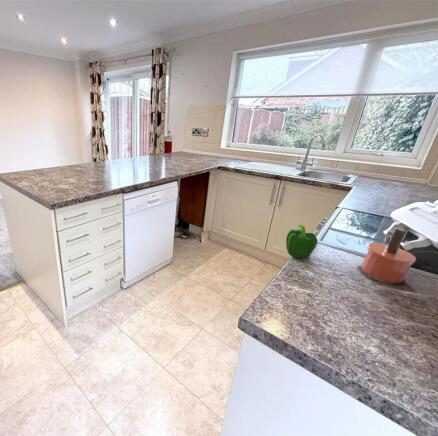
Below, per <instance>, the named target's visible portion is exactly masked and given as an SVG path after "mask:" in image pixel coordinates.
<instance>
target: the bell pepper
mask: <svg viewBox="0 0 438 436" xmlns="http://www.w3.org/2000/svg"><path fill="white" fill-rule="evenodd" d="M285 239H286V240H285V241H286V242H285V245H286V251H287V253H288V255H289V256H290V257H293V258H296V259H302V258H308V257H310V256H311V254H312V253H313V252H314V250H315V249H316V248H317V244H318V238H317V236H316V235H315V233H313V232H306V227H305V226H304V225H303V224H298V229H292V228H291V229H290V230H289V231H288V233H287V235H286V237H285Z"/></svg>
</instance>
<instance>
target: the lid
mask: <svg viewBox="0 0 438 436" xmlns="http://www.w3.org/2000/svg"><path fill="white" fill-rule="evenodd" d="M407 233H408V230H406V229H402V228H395V230H394V232H393V234H392V237H390V239H389V241H388V243H380V242H371V243H368V244H367V246H366V249H367V251H368V250H369V251H370V252H372V253H373V254H375V255H377V256H379V257H382V258H385V259H388V260H391V261H395V262H400V263H412V264H414V263H415V262H416V260H417V258H416V256H415V255H414V254H412V253H410V252H409V251H408V250H405V249H403V248H401V245H400V243H402V242H404V239H405V237H406V236H407Z"/></svg>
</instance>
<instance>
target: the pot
mask: <svg viewBox="0 0 438 436" xmlns="http://www.w3.org/2000/svg"><path fill="white" fill-rule="evenodd" d="M412 265H413V263H400V262H395V261H391V260H388V259H385V258H382V257H379V256H377V255H375V254H373V253H372V252H370V251H369V250H368V249H367V252H366V254H365V257H364V258H363V261H362V263H361V266H360V268H361V269H362V271H363V272H365V273H366V274H368V275H369V276H372V277H373V278H375V279H378V280H381V281H384V282H388V283H394V284H395V283H402V282H403V281H404V279H405V278H406V276H407V274H408V272H409V270H410V269H411V266H412Z"/></svg>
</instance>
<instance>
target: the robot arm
mask: <svg viewBox="0 0 438 436" xmlns="http://www.w3.org/2000/svg"><path fill="white" fill-rule="evenodd" d="M389 216H390V218H391V219H392V220H393V223H392V224H391V226H389V228H387V229H385V230H383V231H382V232H383V234H384V236H386V237H387V238H391V237H392V234H393V232H394V230H395V228H402V229H405V230H407V232H410V233H411V234H413V235H414V236H416V237H417V239H414V240H403V241H402V243H400V247H401V249H403V250H405V251H410V250H412V249H415V248H426V247H429V246H432V247H434V248H436V249H437V250H438V200H435V201H434V202H432V201H424V202H422V201H420V202H414V203H412V204H409V205H406V206H404V207H401V208H398V209H396V210H394V211H393V212H391V214H390V215H389Z"/></svg>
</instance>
